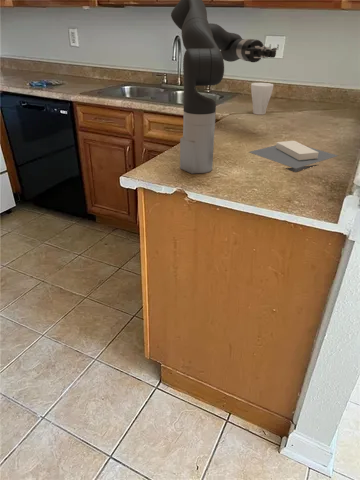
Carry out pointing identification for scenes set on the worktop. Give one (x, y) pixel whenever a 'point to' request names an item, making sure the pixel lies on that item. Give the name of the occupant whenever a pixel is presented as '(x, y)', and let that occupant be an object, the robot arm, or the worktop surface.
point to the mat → (291, 158)
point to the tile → (297, 150)
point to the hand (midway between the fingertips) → (273, 54)
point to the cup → (261, 97)
